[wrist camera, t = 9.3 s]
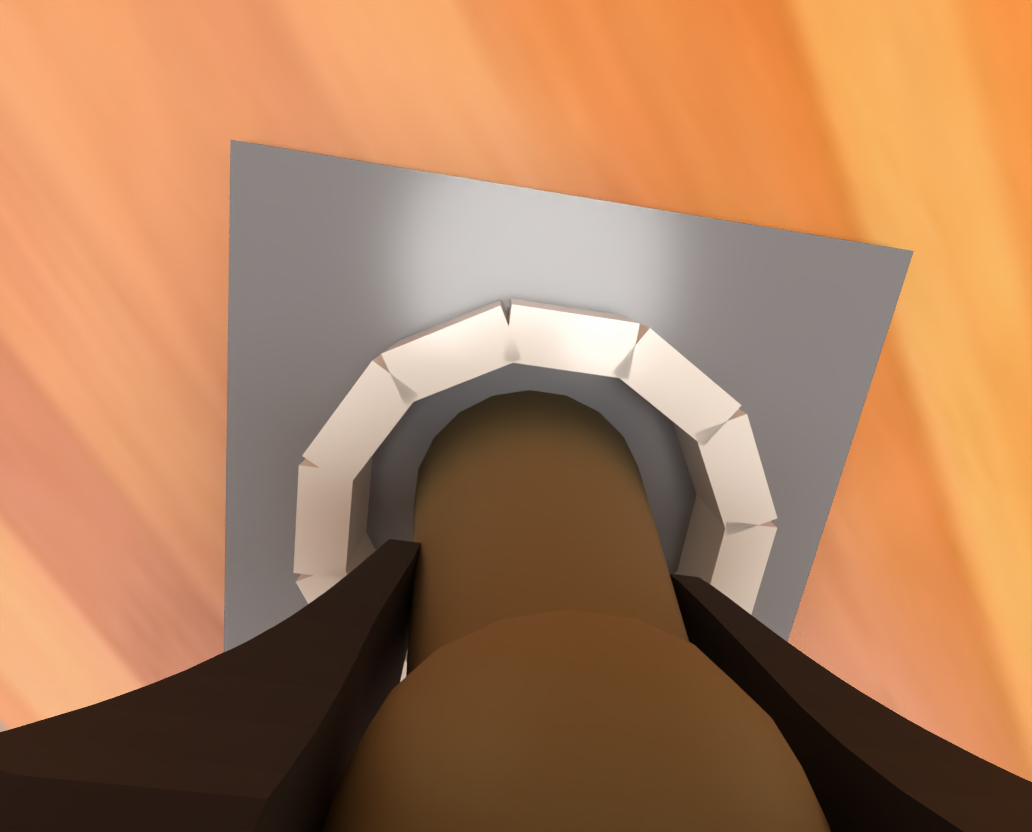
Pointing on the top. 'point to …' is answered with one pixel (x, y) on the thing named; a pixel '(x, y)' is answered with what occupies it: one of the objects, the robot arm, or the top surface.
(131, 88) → the top surface
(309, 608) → the robot arm
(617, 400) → the ring stand
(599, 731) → the cork
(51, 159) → the top surface
